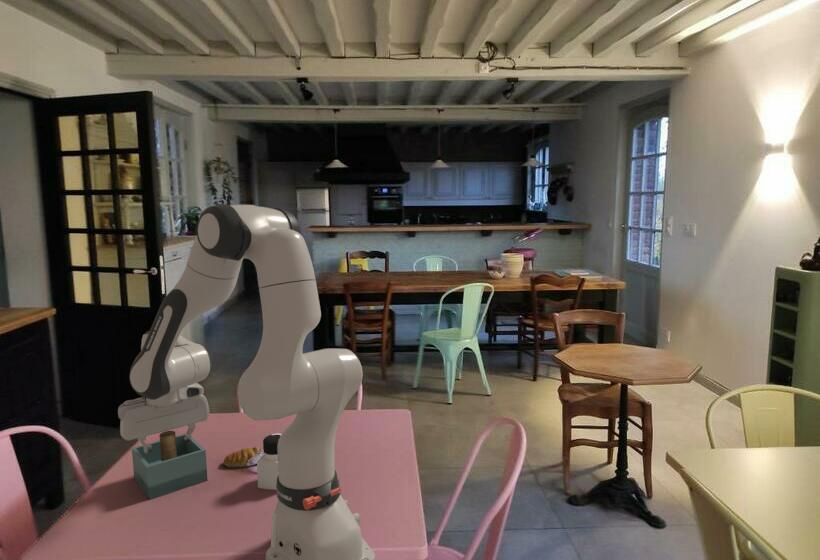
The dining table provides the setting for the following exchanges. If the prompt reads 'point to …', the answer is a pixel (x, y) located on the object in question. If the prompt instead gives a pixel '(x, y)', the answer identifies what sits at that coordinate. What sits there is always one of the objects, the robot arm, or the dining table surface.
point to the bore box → (169, 468)
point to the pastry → (240, 457)
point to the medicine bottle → (268, 463)
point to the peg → (168, 445)
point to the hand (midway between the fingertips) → (168, 446)
